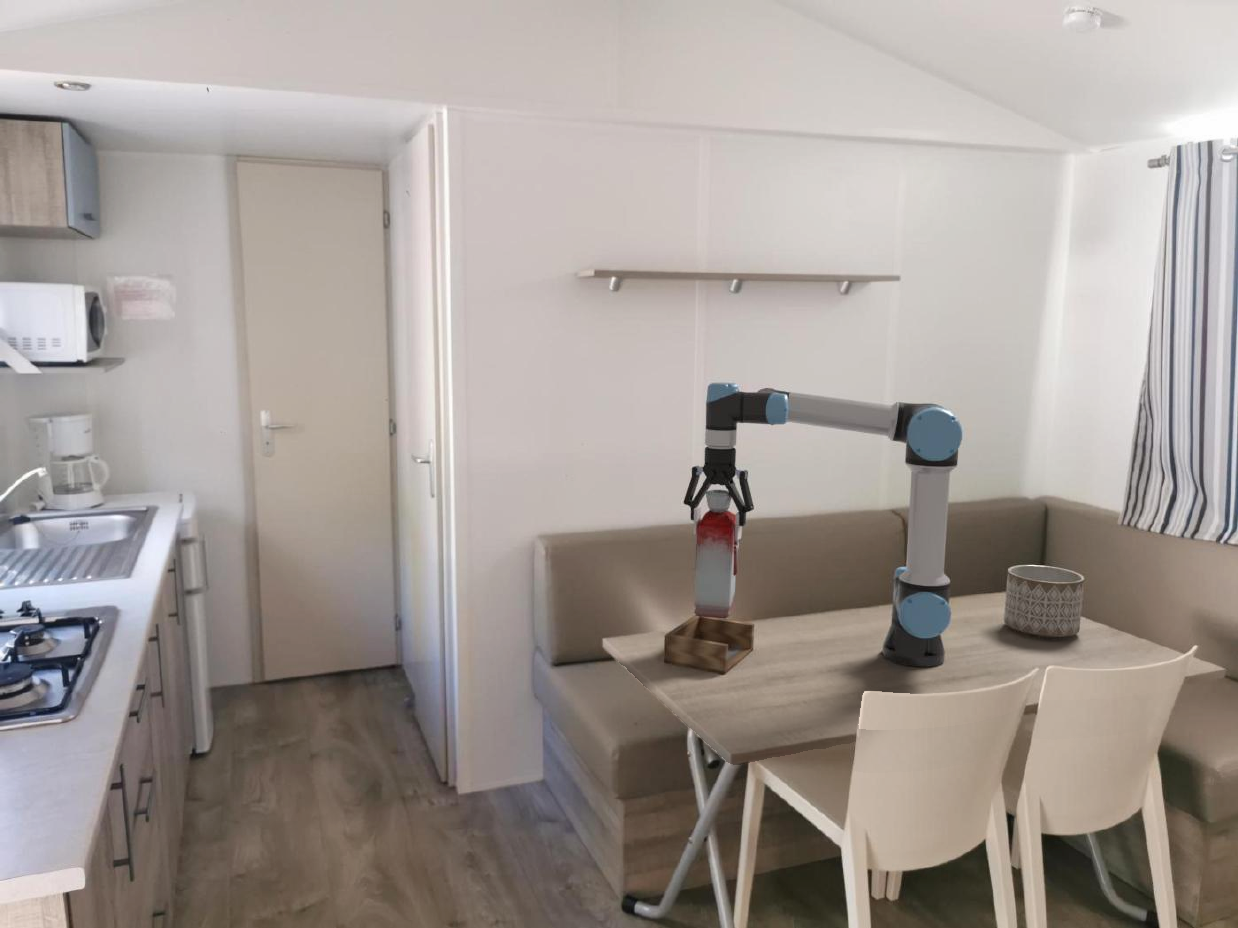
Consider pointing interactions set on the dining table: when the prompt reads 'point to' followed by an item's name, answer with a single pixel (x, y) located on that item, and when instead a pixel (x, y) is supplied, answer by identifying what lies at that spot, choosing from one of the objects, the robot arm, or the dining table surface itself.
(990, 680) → the dining table surface
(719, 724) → the dining table surface
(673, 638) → the wooden tray box
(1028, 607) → the planter
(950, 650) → the dining table surface
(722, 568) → the bottle
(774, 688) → the dining table surface
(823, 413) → the robot arm
